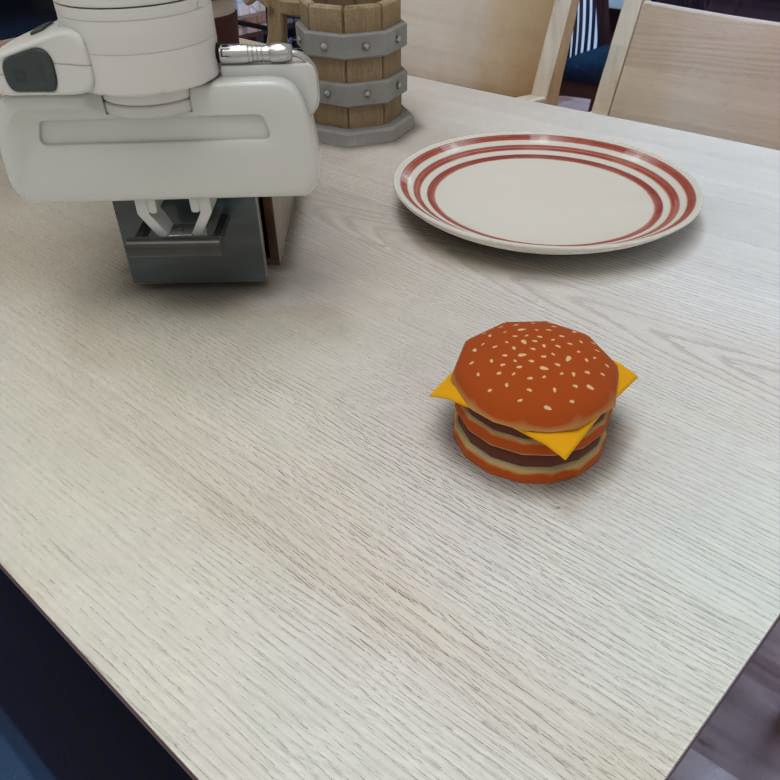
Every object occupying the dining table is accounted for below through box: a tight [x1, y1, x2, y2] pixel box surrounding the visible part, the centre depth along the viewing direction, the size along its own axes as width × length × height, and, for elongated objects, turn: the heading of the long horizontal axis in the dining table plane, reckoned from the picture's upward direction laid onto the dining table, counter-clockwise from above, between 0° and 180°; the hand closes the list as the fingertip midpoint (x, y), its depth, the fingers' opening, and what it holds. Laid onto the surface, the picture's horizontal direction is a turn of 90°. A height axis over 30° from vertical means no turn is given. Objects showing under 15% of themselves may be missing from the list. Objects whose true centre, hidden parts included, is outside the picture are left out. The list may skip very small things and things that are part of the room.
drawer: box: [111, 197, 269, 285], centre depth 59 cm, size 17×10×8 cm, turn 1°
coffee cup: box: [211, 0, 240, 44], centre depth 95 cm, size 10×10×15 cm
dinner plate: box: [392, 130, 704, 256], centre depth 68 cm, size 28×27×3 cm
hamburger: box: [429, 320, 639, 485], centre depth 43 cm, size 9×10×7 cm
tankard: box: [242, 0, 415, 149], centre depth 84 cm, size 20×13×15 cm, turn 63°
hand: (187, 252), depth 54 cm, fingers closed
